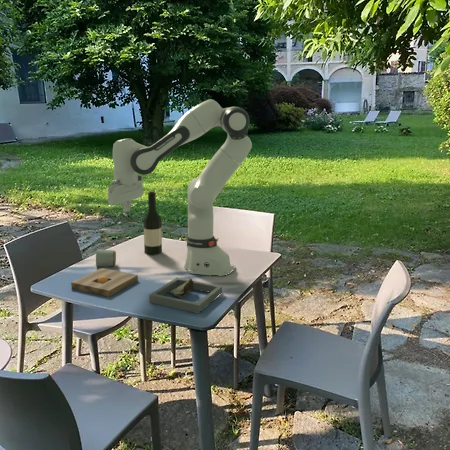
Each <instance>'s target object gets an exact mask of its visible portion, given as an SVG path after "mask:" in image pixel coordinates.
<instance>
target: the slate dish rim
mask: <svg viewBox="0 0 450 450" xmlns="http://www.w3.org/2000/svg"><path fill="white" fill-rule="evenodd" d="M188 280H189V279H186V278H179V277H175V278H173V279H171V281H169V282H167V283H165V284H164V285H162V286H161V287H159V288H158V289H156V290H155V291H153V292H152V293H150V294H149V295H148V296H149V303H150V304H155V305H158V306H164V307H168V308H173V309H177V310H181V311H186V312H190V313H194V312H198V313H199V312H200V311H201V312H203V311H204V310H205V309H206V308H207V307H208V306H210V305H211V304H212V303H213V302H214V301H215V300H216V299H215V298H216V297H217V296H218V295H219V294H221V293H222V294H223V286H222V285H218V284H211V283H206V282H201V281H197V280H193V283H194V284H193V289H194V290H193V291H197V290H202V291H209V292H210V293H207V294H206V295H205V296H204V297H203V298H201V299H200V300H199V301H198V302H194V301H188V300H184V299H182V298H175V297H171V296H167V295H168V294H170V293H169V292H170V291H171V290H172V289H174V288H177V287H178V286H180V285H183V284H184V283H186V282H187V281H188ZM202 291H201V292H202ZM222 294H221V295H222ZM214 299H215V300H214ZM213 300H214V301H213ZM212 301H213V302H212ZM211 302H212V303H211ZM210 303H211V304H210ZM209 304H210V305H209ZM207 305H208V306H207ZM206 306H207V307H206ZM205 307H206V308H205ZM204 308H205V309H204ZM203 309H204V310H203ZM202 310H203V311H202ZM201 312H200V313H201ZM198 313H197V314H198ZM200 313H199V314H200Z"/></svg>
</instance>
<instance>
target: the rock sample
mask: <svg viewBox="0 0 450 450" xmlns="http://www.w3.org/2000/svg"><path fill="white" fill-rule="evenodd" d="M187 280H188V281H187V282H186V283H184V284H183V285H180V286H178V287H177V288H174V289H172V290H171V291H170V292H169V293H168V294H170V295H172V296H175V297H177V298H178V299H182V298H183V297H185V296H186V295H188V294H189V293H190V292H191V291H192V289H193V284H194V283H193V281H194V279H192V278H191V277H189V278H188V279H187Z"/></svg>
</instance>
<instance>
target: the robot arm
mask: <svg viewBox="0 0 450 450" xmlns="http://www.w3.org/2000/svg"><path fill="white" fill-rule="evenodd" d="M250 122H251V120H250V116H249V114H248V112H247V110H245V109H244V108H242V107H238V106H230V107H229V106H228V107H222V106H221V105H220V104H219V103H218V102H217V101H216V100H215V99H212V98H211V99H206V100H204V101H202V102H200V103H198V104H197V105H195V106H193V107H192V108H191V109H189V110H188V111H186V112H185V113H184V114H183V115H182V116H181V117H180V118H179V119H178V120H177V121H176V122H175V124H174V125H173V127H172V129H171V130H170V131H169V132H168V133H167V134H165V135H164V136H163V137H162V138H160V139H159V140H158V141H156V142H155V143H153V144H152V145H151V146H146V145H144V144H141V143H138V142H136V140H134V139H133V138H130V137H129V138H123V139H117V140H116V141H115V142H114V143H113V145H112V146H113V147H112V162H113V166H114V168H113V181H111V182H110V184H109V185H108V188H107V203H108V205H112V206H113V205H114V206H116V205H119V204H120V206H121V207H122V211H123V213H127V212H130V211H131V206H132V203H133V200H136V199H140V198H142V196H143V193H144V186H143V182H142V181H143V180H144V177H143V176H147V175H149V174H151V173H153V172H154V171H155V169H156V168H157V166H158V165H159V163H160V161H161V160H162V159H164V158H165V157H166V156H168V155H169V154H170V153H172V152H173V151H174V150H176V149H178V148H179V147H180V146H182V145H185V144H188V143H190V142H192V141H194V140H197V139H198V138H200V137H202V136H203V135H205V134H206V133H208V132H209V131H210V130H212V129H213V128H215V127H219V128H220V129H222V130H223V131H224V132H225V133H226V134H227V137H226V140H225V142H224V143H223V144H222V145H221V146H220V148H219V149H217V151H216V152H215V154H214V155H213V156H212V157H211V159H210V160H209V161H208V162H207V164H206V165H205V167H204V169H203V170H202V172H201V173H200V174H199V175H198V177H195V178H193V179H191V180H190V181H189V183H188V185H187V236H186V247H187V251H186V252H187V253H186V258H185V262H184V267H183V268H184V269H185V270H186V271H187V273H188V274H192V275H194V274H195V275H204V276H211V275H219V276H218V277H221V276H222V275H226V274H228V273H230V272H231V271H232V270H234V268H235V269H236V265H235V264H232V263H231V258H230V255H229V254H228V253H227V252H226V251H225V250H224V249H222V248H221V247H220V246H219V245H218V241H219V238H216V237H215V236H214V201H215V200H216V198H217V197H218V196H219V194H220V193H221V192H222V190H223V189H224V187H225V185H226V184H227V182H228V181H229V180H230V178H231V177H232V176H233V175H234V173H235V172H236V171H237V169H238V168H239V167H240V166H241V165H242V164H243V162H244V161H245V159H246V158H247V157H248V156H249V153H250V152H251V150H252V149H253V143H252V141H251V138H250V137H249V136H248V133H249V132H248V131H249V127H250ZM234 271H235V270H234ZM226 276H227V275H226ZM222 277H223V276H222Z"/></svg>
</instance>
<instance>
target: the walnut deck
mask: <svg viewBox="0 0 450 450" xmlns="http://www.w3.org/2000/svg"><path fill="white" fill-rule="evenodd" d="M100 276H106V277H107V278H108V282H106V283H104V284H101V283H98V278H99V277H100ZM138 281H139V276H138V274H135V273H131V272H130V273H129V272H124V271H119V270H113V269H109V268H105V267H100V268H99V269H97V270H95V271H92V272H90V273H89V274H85V275H84V276H82V277H80V278H77V279H75V280H73V281H72V282H71V283H70V284H71V289H72V290H78V291H82V292H86V293H89V294H95V295H99V296H104V297H107V298H110V297H112V296H113V295H115V294H117V293H119V292H120V291H123V290H125V289H126V288H128V287H129V286H131V285H133V284H135V283H136V282H138Z"/></svg>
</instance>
